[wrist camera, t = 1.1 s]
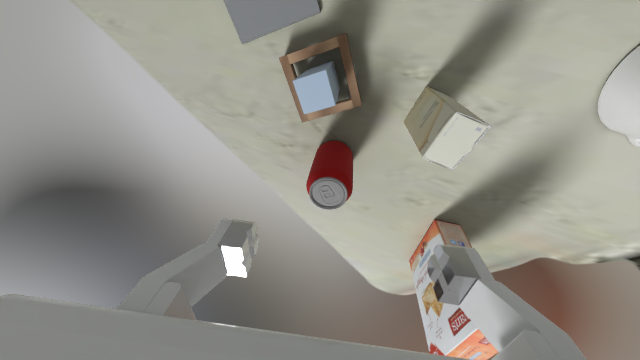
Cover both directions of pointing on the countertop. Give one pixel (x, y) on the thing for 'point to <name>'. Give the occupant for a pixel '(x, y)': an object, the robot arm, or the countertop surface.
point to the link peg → (317, 88)
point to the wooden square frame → (343, 45)
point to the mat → (267, 15)
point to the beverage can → (331, 175)
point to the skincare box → (443, 128)
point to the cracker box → (441, 318)
